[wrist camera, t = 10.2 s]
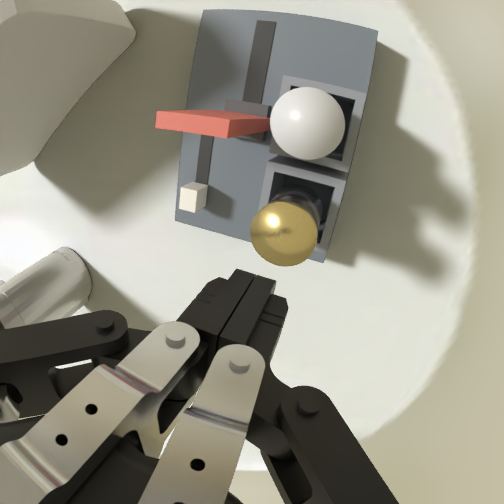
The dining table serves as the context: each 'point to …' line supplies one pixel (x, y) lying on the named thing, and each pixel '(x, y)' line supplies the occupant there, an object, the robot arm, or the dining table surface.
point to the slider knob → (193, 196)
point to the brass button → (287, 226)
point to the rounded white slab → (51, 66)
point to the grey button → (307, 123)
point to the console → (267, 93)
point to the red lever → (220, 120)
